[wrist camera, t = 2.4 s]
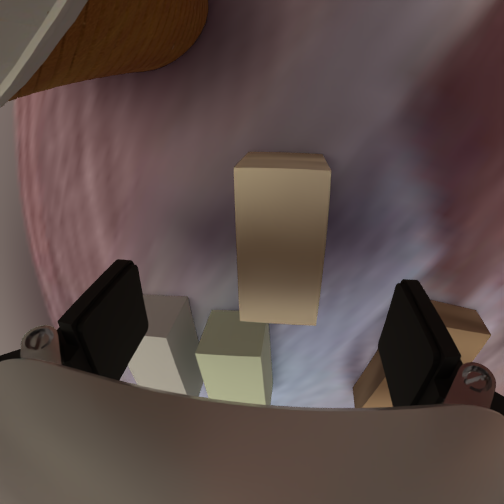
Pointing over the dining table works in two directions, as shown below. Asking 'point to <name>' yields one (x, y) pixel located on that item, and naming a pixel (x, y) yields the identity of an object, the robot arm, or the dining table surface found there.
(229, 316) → the sage brick
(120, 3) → the disposable coffee cup
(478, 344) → the walnut base
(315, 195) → the beech brick
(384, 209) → the dining table surface
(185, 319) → the grey brick
